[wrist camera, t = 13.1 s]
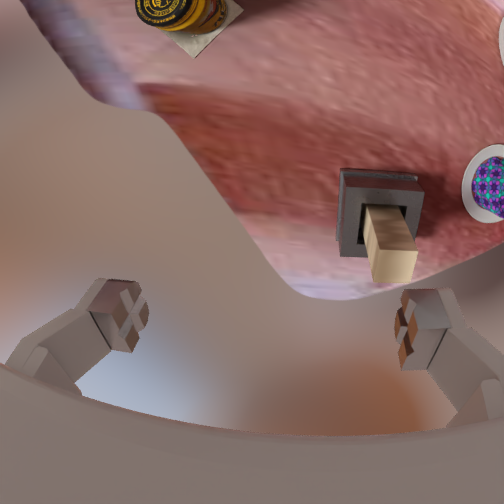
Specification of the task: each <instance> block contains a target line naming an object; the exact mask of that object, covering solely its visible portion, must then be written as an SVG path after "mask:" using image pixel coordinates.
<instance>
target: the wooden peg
mask: <svg viewBox="0 0 504 504" xmlns="http://www.w3.org/2000/svg"><path fill="white" fill-rule="evenodd" d="M360 223H361V228H362V232H363V236H364V240H365V245H366V249H367V254H368V258H369V263H370V268H371V273H372V278H373V282H377V283H410V280H411V277H412V273H413V270H414V266H415V262H416V258H417V255H418V249H417V247H416V245H415V242H414V240H413V238H412V235H411V233H410V231H409V229H408V227H407V224H406V222H405V220H404V218H403V216H402V214H401V212H400V210H399V207H398V205H387V204H370V203H362V212H361V221H360Z"/></svg>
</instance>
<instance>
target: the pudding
mask: <svg viewBox="0 0 504 504" xmlns="http://www.w3.org/2000/svg"><path fill="white" fill-rule="evenodd" d="M492 156H501V157H504V145H500V144H497V145H491V146H488V147H486V148H484V149H483V150H481V151H480V152H479V153H478V154H476V155H475V157H474V158H473V159H472V160H471V162H470V163H469V165H468V167H467V169H466V171H465V174H464V177H463V182H462V198H463V203H464V205H465V208H466V210H467V211H468V213H469V214H470V215H471V216H472V217H473V218H475V219H476V220H478V221H480V222H484V223H494V222H498V221H501V220H503V219H504V159H502V160H499V159H498V158H497V157H492ZM489 157H492V158H490V159H489V160H488V162H487V163H486V164H481V163H482V162H483V161H484V160H486V159H487V158H489ZM480 164H481V165H480ZM479 165H480V166H479ZM478 166H479V167H478ZM477 168H478V169H477ZM476 169H477V171H476ZM475 171H476V176H477V177H476V178H475V179H474V180H473V182H472V178H473V175H474V173H475ZM471 184H472V190H473V191H474V192H475V197H474V199H475V201H476V203H477V204H478V205H480V206H482V207H483V208H485V209H486V210H484V209H482V208H481V207H479V206H478V205H477V204H476V203H475V201H474V199H473V196H472V191H471Z"/></svg>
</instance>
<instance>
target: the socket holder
mask: <svg viewBox="0 0 504 504" xmlns="http://www.w3.org/2000/svg"><path fill="white" fill-rule="evenodd" d="M417 178H418V177H417V175H416V174H413V173H402V172H389V171H376V170H360V169H340V178H339V196H338V212H337V225H336V241H339V250H340V257H367V258H368V254H367V249H366V245H365V240H364V236H363V232H362V228H361V223H360V221H361V212H362V203H370V204H387V205H398V207H399V210H400V212H401V214H402V216H403V218H404V220H405V222H406V224H407V227H408V229H409V231H410V233H411V235H412V238H413V240H414V242H415V238H416V233H417V229H418V224H419V219H420V214H421V209H422V204H423V199H424V193H425V192H424V190H423V189H422V188H421V186H420V185H419V183H418V182H417Z"/></svg>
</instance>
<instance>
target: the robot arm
mask: <svg viewBox="0 0 504 504" xmlns="http://www.w3.org/2000/svg"><path fill="white" fill-rule="evenodd" d="M499 48H500V54H501V58H502V62H503V65H504V17H503V19H502V22H501V25H500V30H499ZM141 291H142V290H141V287H140V285H139V283H138V282H136V281H129V280H119V279H106V278H98V279H96V280H95V281H94V283H93V284H92V285H91V287H90V288H89V289H88V291H87V292H86V293H85V295H84V296H83V297H82V299H81V300H80V302H79V303H78V304H77V306H76V307H75V309H70V310H68V311H66V312H65V313H63V314H61V315H60V316H58V317H57V318H55V319H53V320H52V321H50V322H48V323H47V324H45V325H44V326H42V327H41V328H39V329H37V330H36V331H34V332H32V333H31V334H29V335H28V336H26V337H24V338H23V339H22V340H21V341H20V343H19V344H18V345H17V347H16V348H15V350H14V351H13V353H12V354H11V356H10V357H9V359H8V360H7V362H6V363H5V365H4V364H2V363H0V504H504V355H503V354H502V353H501V352H500V351H499V350H498V349H496V348H495V347H494V346H493V345H492V344H491V343H489V342H488V341H487V340H486V339H485V338H484V337H483V336H481V335H480V334H479V333H478V332H477V331H475V330H474V329H473V328H472V327H467V325H466V322H465V319H464V317H463V314H462V312H461V310H460V307H459V305H458V302H457V300H456V298H455V295H454V293H453V291H452V289H450V288H435V289H404V291H403V292H402V296H401V304H402V307H401V308H400V309H398V310H397V313H396V318H395V326H394V330H395V338H396V341H397V342H398V343H399V344H400V345H401V346H400V349H399V351H398V356H399V361H400V367H401V371H402V370H427V372H428V373H429V375H430V376H431V377H432V378H433V380H434V381H435V382H436V383H437V385H438V386H439V387H440V389H441V390H442V391H443V392H444V394H445V395H446V396H447V398H448V399H449V400H450V402H451V403H452V404H453V406H454V407H455V408H456V409H457V411H458V413H457V414H456V415H455V416H454V418H453V419H452V420H451V421H450V422H449V423H448V424H447V426H446V428H442V429H435V430H427V431H419V432H409V433H399V434H386V435H367V436H303V435H302V436H301V435H284V434H270V433H259V432H249V431H240V430H232V429H224V428H217V427H210V426H204V425H198V424H192V423H187V422H182V421H177V420H171V419H167V418H162V417H157V416H153V415H149V414H145V413H140V412H136V411H132V410H129V409H125V408H121V407H118V406H114V405H111V404H107V403H104V402H100V401H97V400H94V399H91V398H88V397H85V396H82V393H81V391H80V389H79V388H78V387H77V386H76V385H75V384H74V383H75V382H76V381H77V380H78V379H79V378H80V377H82V376H83V375H84V374H85V373H86V372H87V371H88V370H90V369H91V368H92V367H93V366H94V365H95V364H97V363H98V362H99V361H100V360H101V359H103V358H104V357H105V356H106V355H107V354H108V353H109V352H111V350H116V351H122V352H129V353H132V352H133V350H134V348H135V346H136V344H137V342H138V340H139V334H138V332H139V331H141V330H142V329H144V328H145V326H146V324H147V321H148V316H149V309H148V305H147V302H146V300H145V299H144V298H142V297H141V296H140V294H141Z"/></svg>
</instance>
